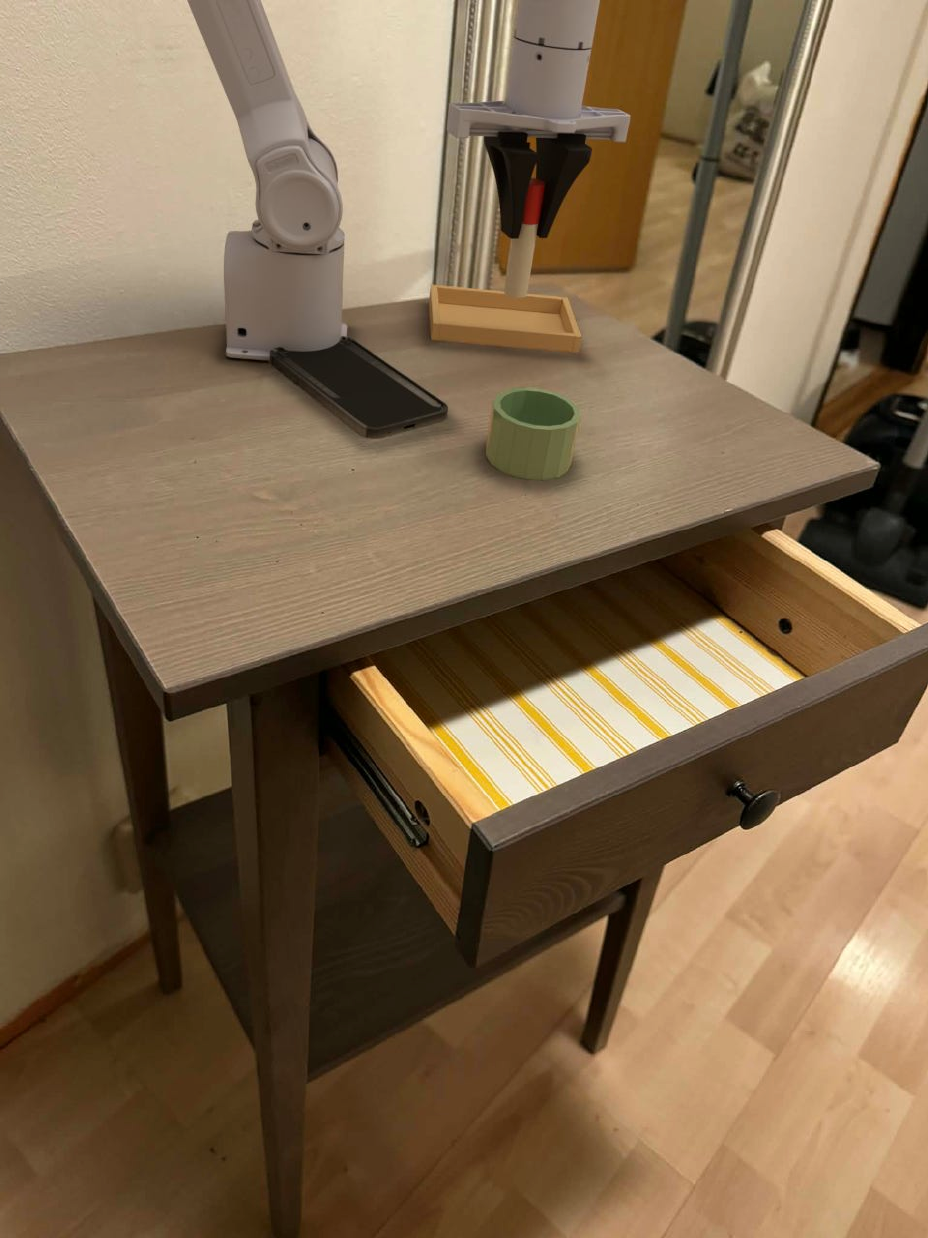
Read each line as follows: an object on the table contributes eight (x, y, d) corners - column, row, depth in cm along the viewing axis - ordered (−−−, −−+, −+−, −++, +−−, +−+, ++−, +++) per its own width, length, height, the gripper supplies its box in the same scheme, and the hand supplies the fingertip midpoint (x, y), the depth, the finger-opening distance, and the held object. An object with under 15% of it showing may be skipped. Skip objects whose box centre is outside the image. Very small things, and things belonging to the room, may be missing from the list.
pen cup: (488, 482, 66) (497, 425, 64) (482, 439, 71) (490, 383, 68) (574, 488, 67) (587, 432, 64) (563, 445, 72) (574, 390, 69)
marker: (503, 296, 79) (520, 183, 73) (502, 287, 81) (517, 175, 75) (528, 299, 79) (546, 186, 74) (526, 290, 81) (543, 178, 75)
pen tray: (431, 344, 83) (433, 322, 82) (428, 304, 90) (430, 284, 89) (577, 357, 85) (581, 336, 83) (563, 317, 92) (567, 297, 91)
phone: (345, 334, 80) (454, 409, 72) (345, 346, 81) (452, 422, 72) (262, 350, 76) (368, 432, 67) (263, 363, 77) (367, 445, 68)
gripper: (483, 47, 63) (460, 253, 71) (666, 58, 68) (624, 249, 77) (444, 27, 68) (427, 222, 76) (618, 39, 73) (584, 220, 82)
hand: (523, 234), depth 77 cm, fingers closed on marker, 2 cm apart
